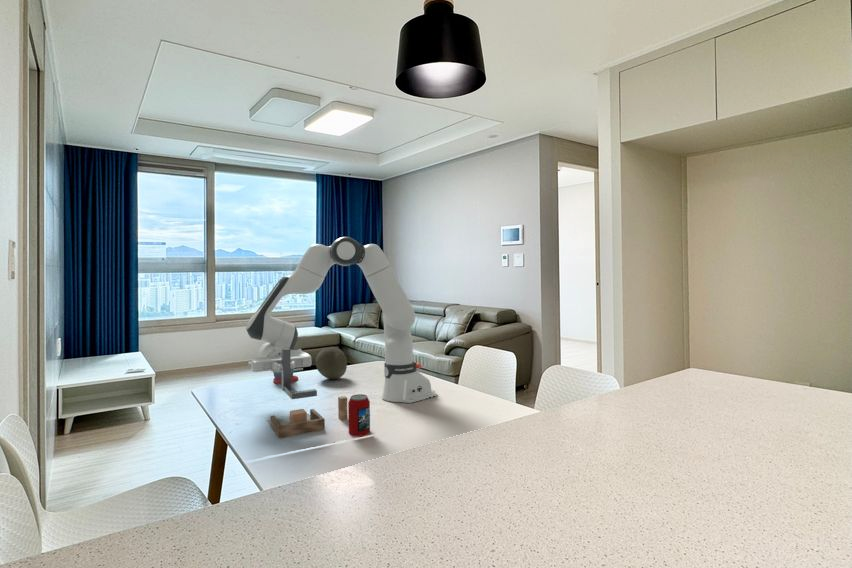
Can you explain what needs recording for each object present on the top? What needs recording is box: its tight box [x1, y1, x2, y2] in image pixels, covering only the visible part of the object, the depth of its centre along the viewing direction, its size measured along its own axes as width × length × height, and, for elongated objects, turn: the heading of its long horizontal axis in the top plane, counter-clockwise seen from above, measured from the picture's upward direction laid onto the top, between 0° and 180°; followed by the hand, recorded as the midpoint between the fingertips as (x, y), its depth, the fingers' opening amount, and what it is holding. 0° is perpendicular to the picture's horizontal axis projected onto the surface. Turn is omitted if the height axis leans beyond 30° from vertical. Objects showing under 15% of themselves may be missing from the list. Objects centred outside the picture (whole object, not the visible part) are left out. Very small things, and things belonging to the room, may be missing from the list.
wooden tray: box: [266, 408, 326, 439], centre depth 154 cm, size 14×19×4 cm
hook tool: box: [281, 348, 318, 400], centre depth 153 cm, size 8×13×14 cm, turn 30°
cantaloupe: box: [315, 346, 348, 380], centre depth 216 cm, size 14×14×15 cm
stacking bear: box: [272, 368, 299, 385], centre depth 213 cm, size 11×10×18 cm
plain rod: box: [337, 395, 348, 421], centre depth 160 cm, size 2×2×8 cm
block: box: [289, 408, 308, 424], centre depth 154 cm, size 4×4×4 cm
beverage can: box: [347, 393, 371, 438], centre depth 147 cm, size 7×7×12 cm
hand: (286, 367), depth 156 cm, fingers closed on hook tool, 2 cm apart
